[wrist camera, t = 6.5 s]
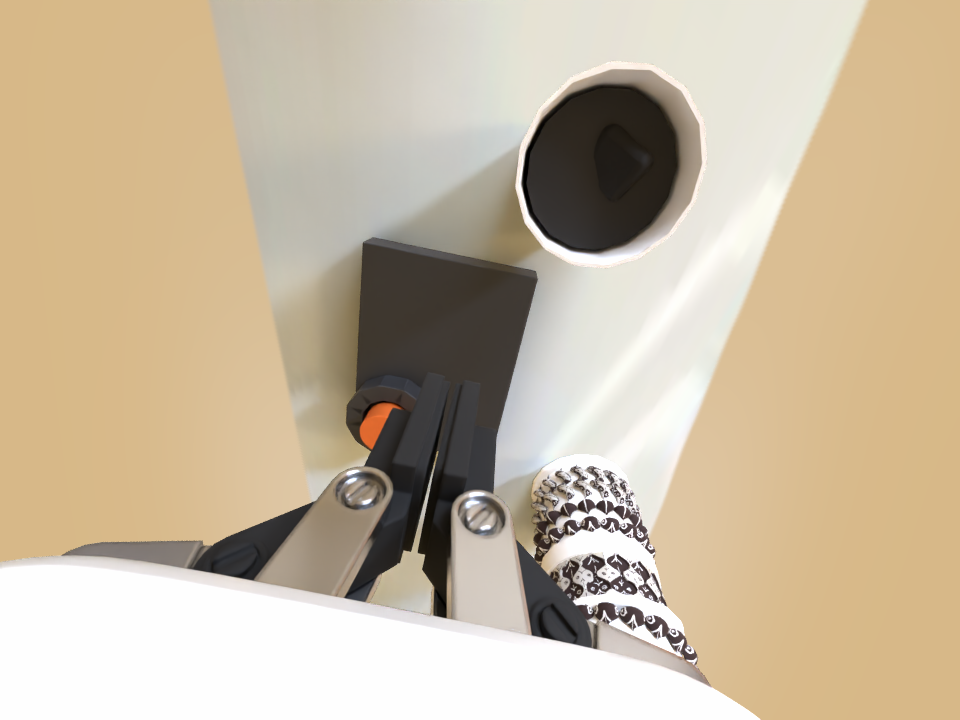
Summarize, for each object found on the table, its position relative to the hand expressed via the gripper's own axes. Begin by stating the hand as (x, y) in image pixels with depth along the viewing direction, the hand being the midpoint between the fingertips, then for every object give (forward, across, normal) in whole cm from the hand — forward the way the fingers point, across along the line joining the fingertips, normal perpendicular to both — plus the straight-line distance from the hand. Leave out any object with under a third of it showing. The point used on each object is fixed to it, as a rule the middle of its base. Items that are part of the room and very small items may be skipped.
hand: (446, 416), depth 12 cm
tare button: (+12, +4, +11) cm, 17 cm away
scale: (+15, +2, +6) cm, 17 cm away
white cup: (+16, -4, -7) cm, 18 cm away
